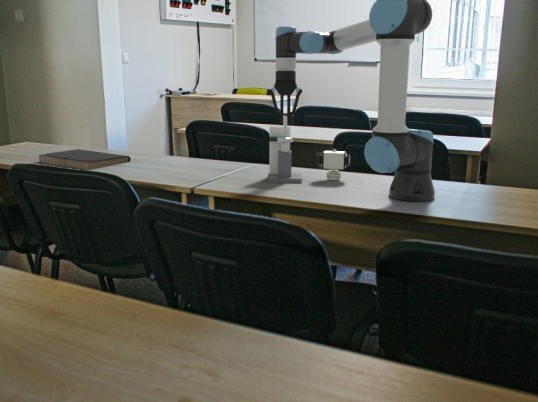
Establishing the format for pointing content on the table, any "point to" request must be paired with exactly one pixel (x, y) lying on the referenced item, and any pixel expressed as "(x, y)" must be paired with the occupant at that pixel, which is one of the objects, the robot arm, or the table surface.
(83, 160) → the brown book
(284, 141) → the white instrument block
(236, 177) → the table surface
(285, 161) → the stand
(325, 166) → the pneumatic valve
